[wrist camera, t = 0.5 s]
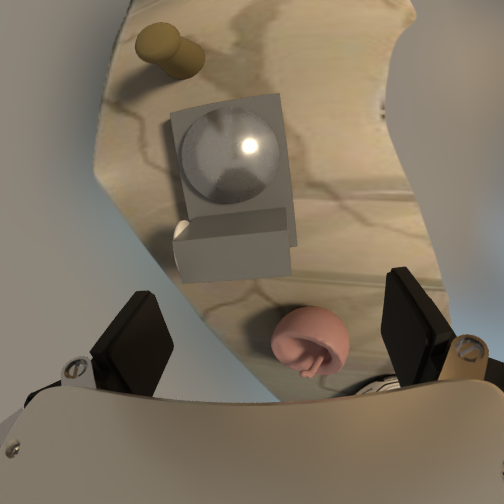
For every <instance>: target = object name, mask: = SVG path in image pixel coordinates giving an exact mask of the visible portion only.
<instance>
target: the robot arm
mask: <svg viewBox="0 0 504 504" xmlns="http://www.w3.org/2000/svg"><path fill="white" fill-rule="evenodd" d="M381 335H382V338H383V341H384V343H385V346H386V348H387V351H388V354H389V356H390V359H391V362H392V365H393V367H394V370H395V373H396V376H397V379H398V382H399V385H400V388H395V389H390V390H384V391H378V392H372V393H366V394H359V395H352V396H345V397H337V398H328V399H319V400H307V401H292V402H271V403H221V402H200V401H185V400H173V399H164V398H155V397H152V396H153V394H154V392H155V389H156V387H157V385H158V383H159V380H160V378H161V376H162V374H163V371H164V369H165V367H166V365H167V363H168V360H169V358H170V356H171V354H172V351H173V348H174V344H173V341H172V338H171V336H170V333H169V331H168V329H167V326H166V323H165V321H164V318H163V316H162V313H161V310H160V308H159V305H158V302H157V300H156V297H155V295H154V294H152V293H151V292H150V291H136V292H135V293H134V295H133V296H132V297H131V298H130V299H129V301H128V302H127V303H126V305H125V306H124V307H123V308H122V310H121V311H120V312H119V313H118V315H117V316H116V317H115V319H114V320H113V321H112V322H111V324H110V325H109V326H108V328H107V329H106V331H105V332H104V333H103V334H102V336H101V337H100V338H99V340H98V341H97V342H96V344H95V345H94V347H93V348H92V349H91V351H90V354H91V355H92V357H93V358H92V360H90V359H89V358H88V357H84V356H83V357H82V356H81V357H76V358H74V359H72V360H70V361H69V362H68V363H66V365H65V366H64V367H63V369H62V371H61V380H60V381H57V382H55V383H53V384H51V385H49V386H47V387H44V388H42V389H40V390H38V391H35V392H33V393H31V394H30V395H29V396H28V397H27V399H26V402H25V404H24V410H23V409H22V408H21V409H20V410H18V411H17V412H15V413H14V414H13V415H11V416H10V417H9V418H7V419H6V420H5V421H3V422H2V423H1V424H0V504H504V363H503V362H500V361H497V360H495V359H492V358H489V357H488V356H489V349H488V347H487V345H486V343H485V342H484V341H483V340H482V339H480V338H479V337H477V336H474V335H469V334H465V335H460V336H458V337H457V336H456V335H455V333H454V331H453V330H452V328H451V327H450V325H449V324H448V322H447V321H446V319H445V318H444V316H443V315H442V314H441V312H440V311H439V309H438V308H437V306H436V305H435V304H434V302H433V301H432V299H431V298H430V297H429V296H428V295H427V294H426V292H425V291H424V290H423V288H422V287H421V286H420V284H419V283H418V282H417V280H416V279H415V278H414V276H413V275H412V274H411V272H410V271H409V270H408V269H407V267H398V268H392V269H391V272H389V273H387V276H386V287H385V297H384V307H383V315H382V323H381Z"/></svg>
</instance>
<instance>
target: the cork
mask: <svg viewBox="0 0 504 504" xmlns="http://www.w3.org/2000/svg"><path fill="white" fill-rule="evenodd" d="M135 50H136V53H137V55H138V56H139V58H140V59H142V60H143V61H145V62H147V63H153V64H155V63H156V64H158V65H159V66H160V67H161V68H162V69H163V70H164V71H165V72H166V73H167V74H168V75H170V76H171V77H173V78H175V79H179V80H180V79H187V78H190V77H193V76H194V75H196V74H197V73H198V72H199V71H200V70H201V69H202V67H203V65H204V62H205V53H204V50H203V49H202V48H201V47H200V46H199V45H197V44H196V43H194V42H192V41H190V40H188V39H185V38H183V37H181V36H180V33H179V31H178V30H177V29H176V28H175V27H174V26H173V25H171V24H169V23H163V22H159V23H154V24H152V25H149V26H147V27H146V28H145V29H143V30H142V31H141V32H140V34H139V35H138V37H137V39H136V43H135Z"/></svg>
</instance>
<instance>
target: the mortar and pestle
mask: <svg viewBox="0 0 504 504" xmlns="http://www.w3.org/2000/svg"><path fill="white" fill-rule="evenodd" d="M349 347H350V341H349V335H348V331H347V329H346V327H345V325H344V323H343V322H342V320H341V319H340V318H339V317H338V316H337V315H336V314H334V313H333V312H331V311H329V310H327V309H325V308H321V307H316V306H307V307H301V308H298V309H296V310H293V311H292V312H290V313H288V314H287V315H286V316H284V317H283V318H282V319H281V320H280V322H279V323H278V324H277V326H276V327H275V329H274V332H273V334H272V337H271V348H272V351H273V353H274V355H275V356H276V358H277V359H278V360H279V361H280V362H281V363H282V364H284V365H286V366H288V367H290V368H292V369H295V370H298V371H300V373H299V375H300V376H301V377H307V378H311V377H313V375H314V374H320V375H328V374H333V373H336V372H338V371H340V370H341V369H342V367H343V365H344V363H345V361H346V359H347V356H348V353H349Z"/></svg>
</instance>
